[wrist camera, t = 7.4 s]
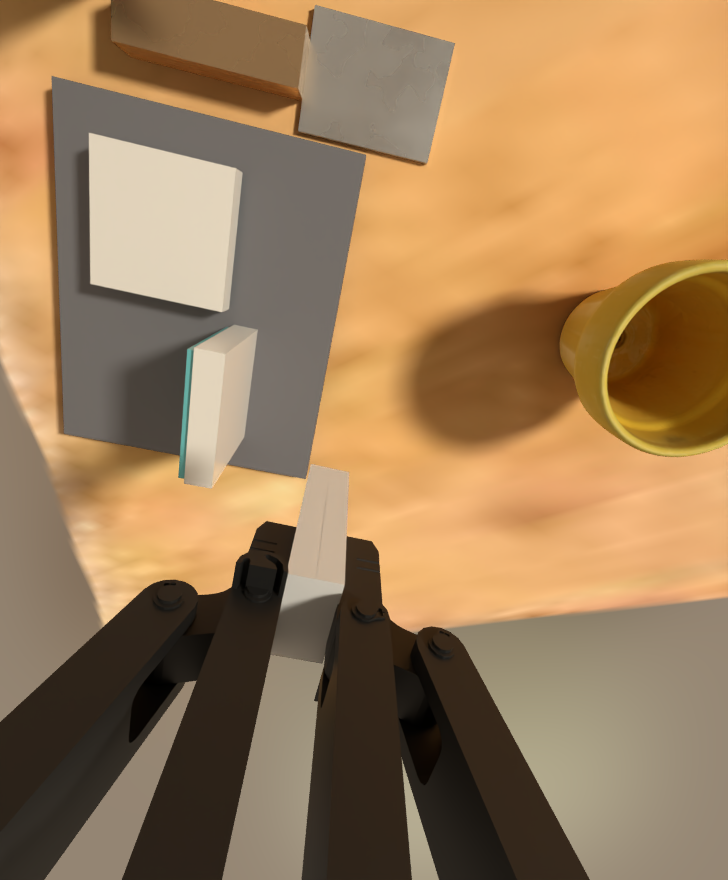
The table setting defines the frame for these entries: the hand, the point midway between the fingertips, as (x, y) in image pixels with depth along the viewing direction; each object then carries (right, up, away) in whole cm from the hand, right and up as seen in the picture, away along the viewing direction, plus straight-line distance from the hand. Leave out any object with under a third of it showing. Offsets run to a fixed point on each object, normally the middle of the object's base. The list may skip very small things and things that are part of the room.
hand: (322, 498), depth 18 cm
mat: (-9, +11, +14) cm, 20 cm away
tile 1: (-6, +14, +10) cm, 19 cm away
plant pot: (+19, +10, +15) cm, 26 cm away
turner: (-3, +24, +9) cm, 26 cm away
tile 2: (-7, +6, +15) cm, 17 cm away
